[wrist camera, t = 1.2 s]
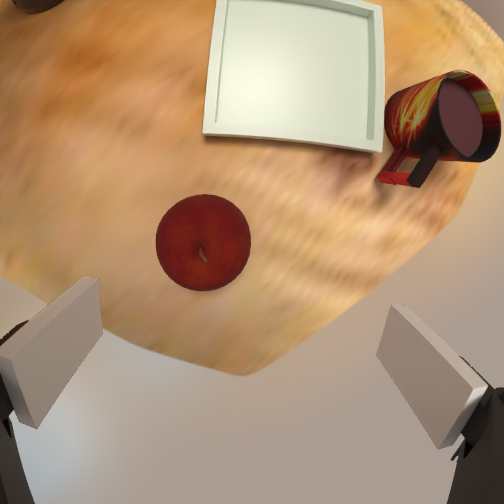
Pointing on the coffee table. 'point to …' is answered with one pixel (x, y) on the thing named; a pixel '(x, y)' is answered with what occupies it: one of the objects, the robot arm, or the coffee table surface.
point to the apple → (203, 242)
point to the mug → (440, 125)
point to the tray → (297, 72)
